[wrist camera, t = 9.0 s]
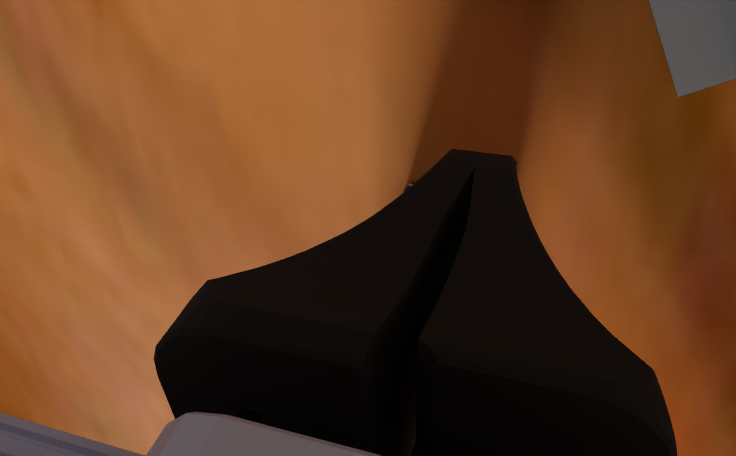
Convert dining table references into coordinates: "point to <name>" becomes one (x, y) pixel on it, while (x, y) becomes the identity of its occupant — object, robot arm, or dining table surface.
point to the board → (697, 41)
